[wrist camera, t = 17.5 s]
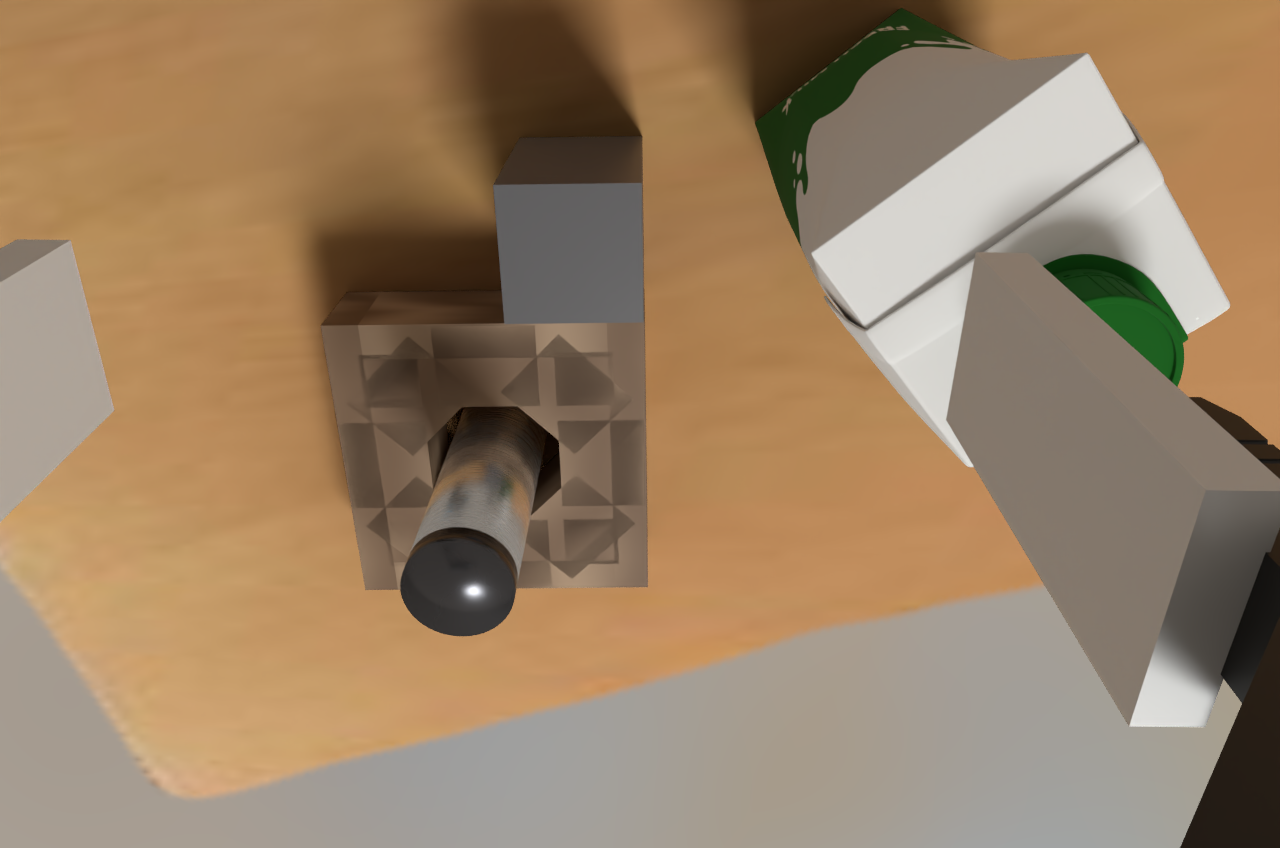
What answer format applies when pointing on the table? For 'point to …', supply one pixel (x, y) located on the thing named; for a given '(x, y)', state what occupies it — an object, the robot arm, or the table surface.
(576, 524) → the socket block
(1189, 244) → the milk carton
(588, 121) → the table surface
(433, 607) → the rod
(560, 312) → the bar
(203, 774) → the table surface
